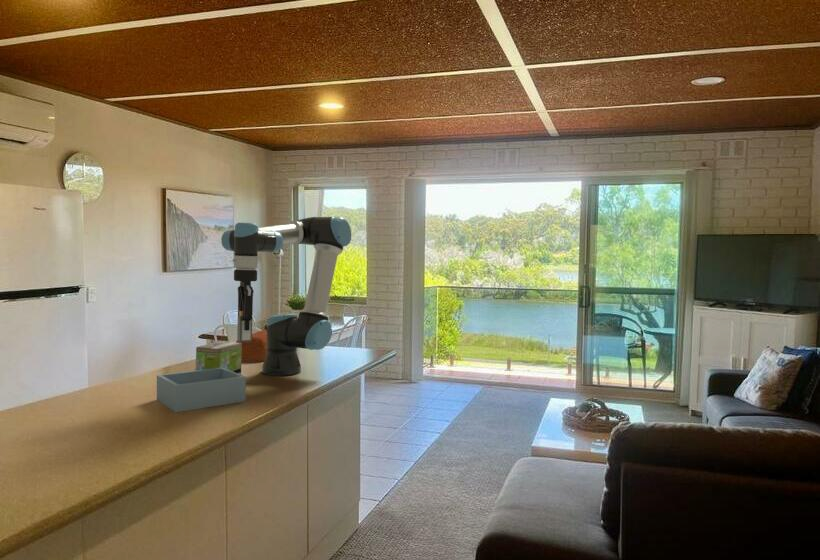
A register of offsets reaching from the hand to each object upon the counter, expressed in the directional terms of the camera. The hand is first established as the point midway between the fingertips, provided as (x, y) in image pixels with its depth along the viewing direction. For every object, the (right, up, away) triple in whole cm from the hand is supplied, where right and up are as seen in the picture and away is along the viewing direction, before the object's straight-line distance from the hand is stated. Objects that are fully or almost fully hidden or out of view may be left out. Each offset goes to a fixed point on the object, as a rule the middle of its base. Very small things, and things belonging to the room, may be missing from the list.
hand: (244, 338), depth 198 cm
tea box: (-13, -18, +14) cm, 27 cm away
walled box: (-12, -19, -7) cm, 24 cm away
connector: (0, -1, 0) cm, 1 cm away
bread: (-13, -15, +72) cm, 75 cm away
